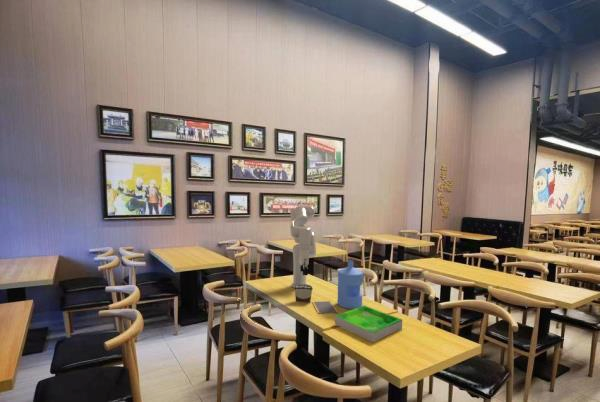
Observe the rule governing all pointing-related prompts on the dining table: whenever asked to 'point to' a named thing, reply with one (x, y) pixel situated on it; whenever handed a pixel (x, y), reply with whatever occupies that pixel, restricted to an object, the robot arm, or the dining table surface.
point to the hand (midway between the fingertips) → (304, 273)
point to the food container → (303, 293)
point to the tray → (368, 323)
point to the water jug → (349, 287)
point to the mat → (324, 307)
